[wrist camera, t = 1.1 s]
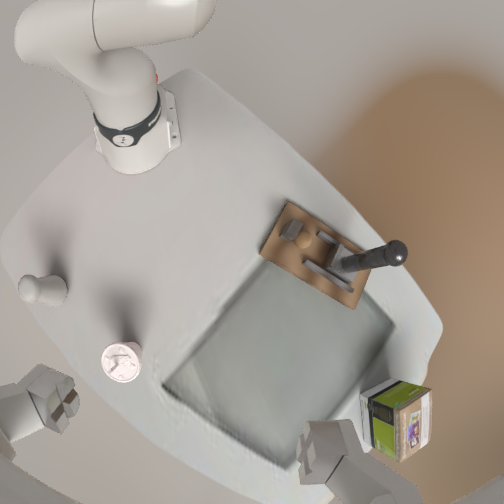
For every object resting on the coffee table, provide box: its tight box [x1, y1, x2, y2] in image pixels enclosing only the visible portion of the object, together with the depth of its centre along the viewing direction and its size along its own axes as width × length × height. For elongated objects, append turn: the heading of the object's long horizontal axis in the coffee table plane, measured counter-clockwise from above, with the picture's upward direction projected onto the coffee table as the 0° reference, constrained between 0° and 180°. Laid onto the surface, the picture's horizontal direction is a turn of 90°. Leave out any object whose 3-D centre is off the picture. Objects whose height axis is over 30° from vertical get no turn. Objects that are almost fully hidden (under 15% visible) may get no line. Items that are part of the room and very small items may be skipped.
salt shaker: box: [18, 275, 68, 306], centre depth 37 cm, size 6×6×13 cm
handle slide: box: [322, 240, 408, 283], centre depth 45 cm, size 6×5×19 cm
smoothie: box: [101, 342, 142, 382], centre depth 38 cm, size 6×6×14 cm
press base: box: [259, 202, 371, 309], centre depth 53 cm, size 23×12×6 cm, turn 61°
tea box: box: [360, 378, 432, 463], centre depth 46 cm, size 15×10×15 cm, turn 13°
